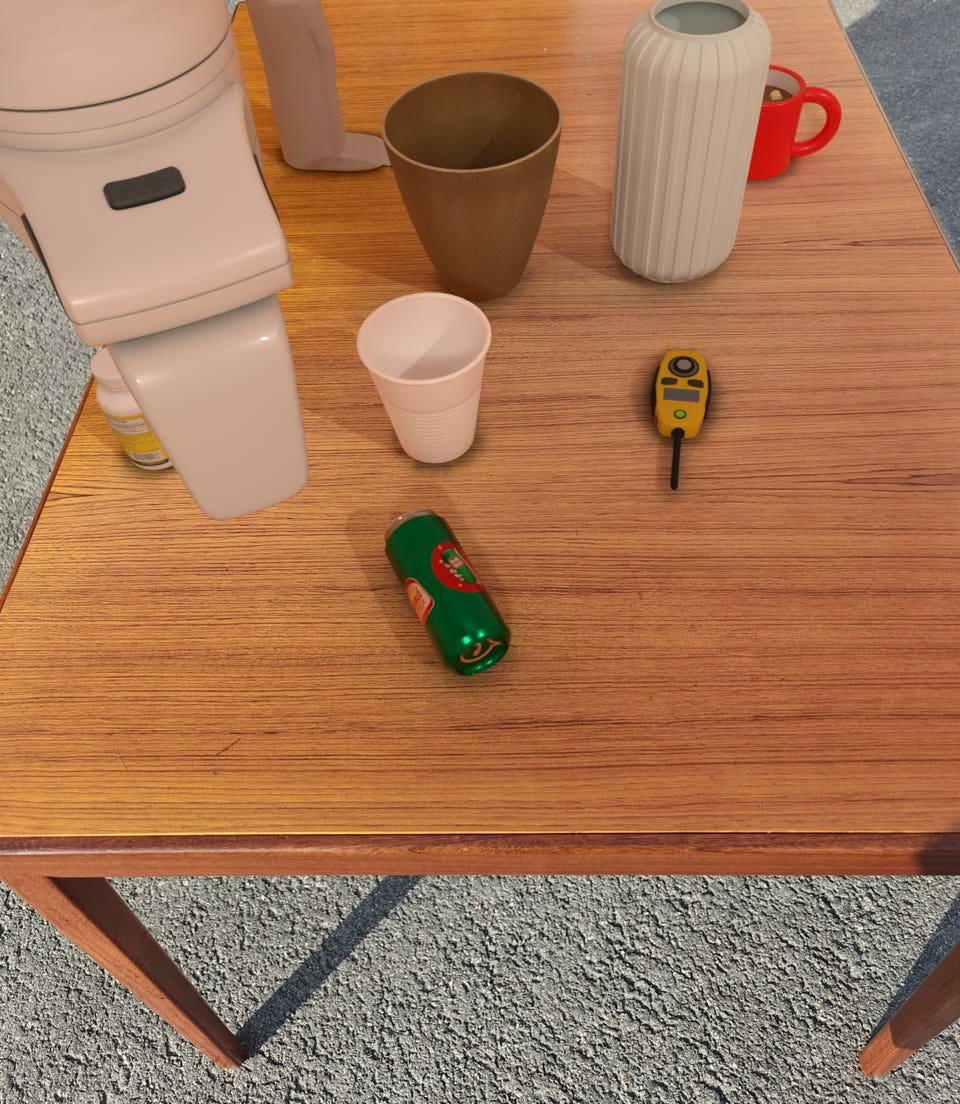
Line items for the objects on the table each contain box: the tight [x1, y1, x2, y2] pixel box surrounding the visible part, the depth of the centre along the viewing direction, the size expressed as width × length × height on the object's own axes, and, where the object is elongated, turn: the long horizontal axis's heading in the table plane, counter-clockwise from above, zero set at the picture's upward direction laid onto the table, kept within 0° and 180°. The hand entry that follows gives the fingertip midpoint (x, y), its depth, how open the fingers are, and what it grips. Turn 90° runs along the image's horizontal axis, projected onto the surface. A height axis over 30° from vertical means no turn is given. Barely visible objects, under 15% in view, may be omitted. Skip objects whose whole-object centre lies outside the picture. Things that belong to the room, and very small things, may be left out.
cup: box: [356, 291, 493, 464], centre depth 72 cm, size 10×10×11 cm
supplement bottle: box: [89, 346, 173, 471], centre depth 74 cm, size 5×5×10 cm
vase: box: [609, 0, 773, 284], centre depth 79 cm, size 12×12×22 cm
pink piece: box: [244, 0, 391, 172], centre depth 94 cm, size 7×14×20 cm, turn 81°
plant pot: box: [380, 69, 564, 302], centre depth 82 cm, size 15×15×16 cm
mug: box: [747, 64, 843, 181], centre depth 94 cm, size 8×12×8 cm, turn 86°
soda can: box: [383, 507, 513, 677], centre depth 65 cm, size 5×5×12 cm
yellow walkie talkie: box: [650, 349, 712, 491], centre depth 75 cm, size 5×2×15 cm
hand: (223, 429), depth 41 cm, fingers closed
